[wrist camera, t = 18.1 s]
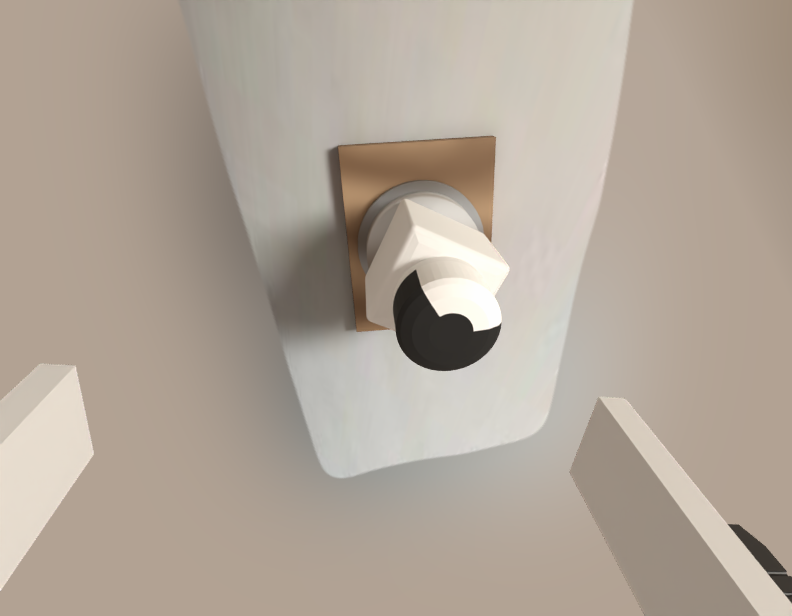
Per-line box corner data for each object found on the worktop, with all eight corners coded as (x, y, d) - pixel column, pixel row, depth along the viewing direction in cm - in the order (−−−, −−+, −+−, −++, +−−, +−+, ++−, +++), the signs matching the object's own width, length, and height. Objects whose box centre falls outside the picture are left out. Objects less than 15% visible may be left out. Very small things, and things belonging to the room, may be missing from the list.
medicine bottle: (443, 309, 39) (475, 400, 28) (363, 278, 37) (365, 362, 27) (486, 233, 36) (539, 302, 26) (402, 195, 35) (422, 252, 24)
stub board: (338, 145, 36) (336, 153, 33) (492, 135, 37) (506, 143, 33) (356, 326, 44) (356, 349, 40) (485, 316, 44) (496, 338, 41)
